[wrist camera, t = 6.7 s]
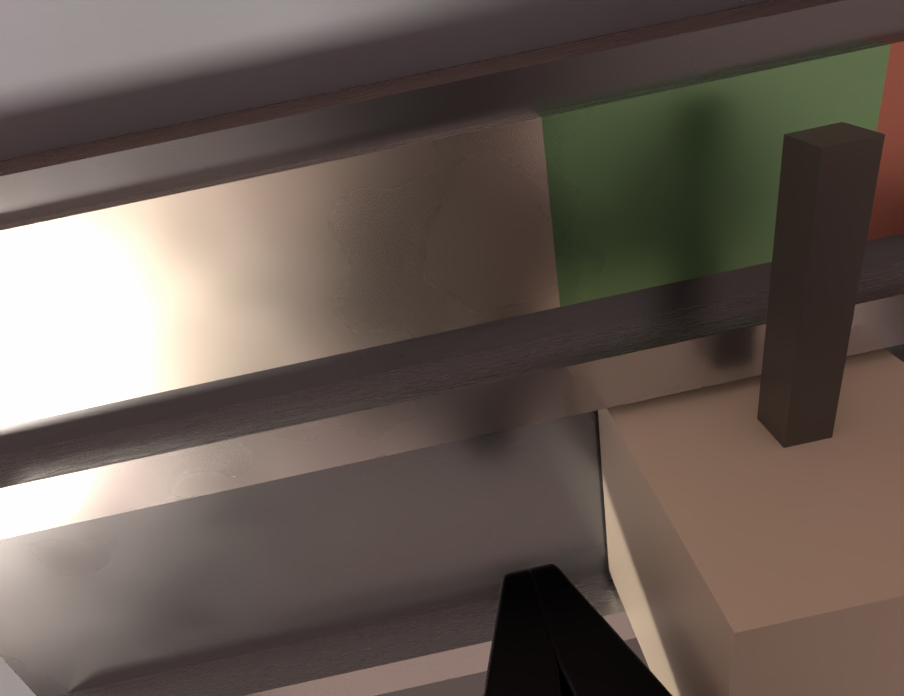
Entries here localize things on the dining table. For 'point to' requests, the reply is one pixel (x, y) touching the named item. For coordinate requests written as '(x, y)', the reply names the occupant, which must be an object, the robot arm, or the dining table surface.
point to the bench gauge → (392, 345)
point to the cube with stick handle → (775, 475)
